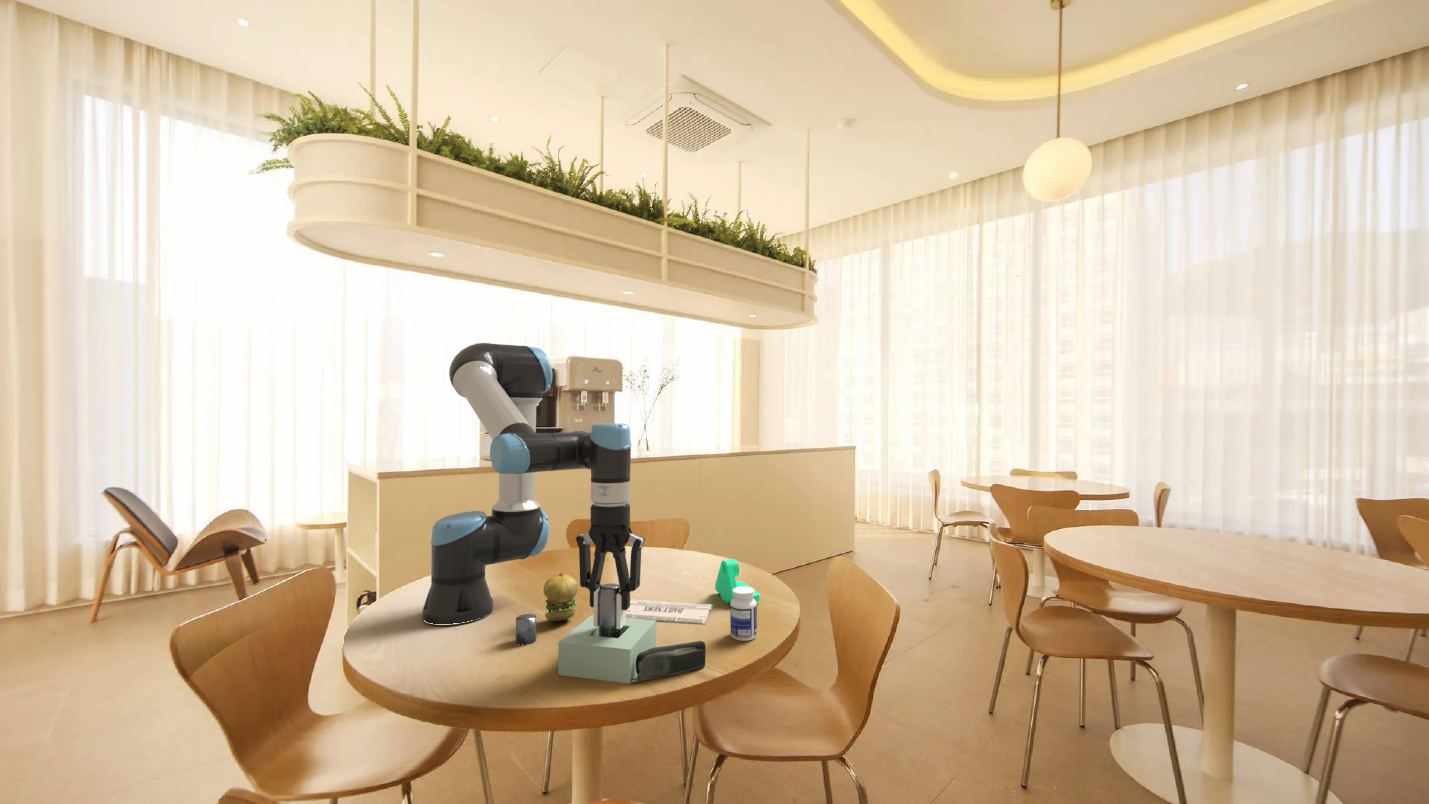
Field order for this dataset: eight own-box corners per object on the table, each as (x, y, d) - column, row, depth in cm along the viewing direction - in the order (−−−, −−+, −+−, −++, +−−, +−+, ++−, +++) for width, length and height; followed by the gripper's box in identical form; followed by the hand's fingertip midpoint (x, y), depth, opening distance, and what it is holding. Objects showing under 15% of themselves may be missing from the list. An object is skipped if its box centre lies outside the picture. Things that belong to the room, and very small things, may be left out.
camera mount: (761, 605, 138) (761, 564, 138) (733, 609, 135) (733, 567, 135) (741, 590, 149) (741, 552, 149) (715, 594, 146) (715, 555, 147)
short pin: (511, 644, 114) (512, 619, 114) (522, 636, 118) (522, 613, 118) (529, 646, 113) (529, 621, 113) (539, 638, 117) (539, 614, 117)
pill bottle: (742, 628, 123) (743, 583, 123) (762, 636, 119) (762, 589, 119) (724, 636, 119) (724, 589, 119) (744, 644, 115) (744, 595, 115)
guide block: (558, 675, 101) (558, 641, 101) (591, 643, 115) (592, 614, 115) (630, 683, 98) (630, 649, 98) (656, 650, 111) (656, 620, 112)
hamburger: (573, 614, 131) (574, 563, 131) (581, 624, 125) (581, 571, 125) (540, 620, 127) (540, 567, 128) (546, 631, 121) (546, 576, 121)
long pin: (595, 647, 105) (595, 589, 105) (604, 639, 109) (604, 582, 109) (614, 649, 104) (615, 590, 104) (623, 641, 108) (623, 584, 108)
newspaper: (713, 608, 137) (713, 598, 137) (705, 632, 125) (705, 621, 125) (626, 602, 141) (625, 592, 141) (609, 625, 129) (609, 615, 129)
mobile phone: (701, 637, 107) (627, 651, 100) (708, 643, 104) (633, 657, 97) (700, 663, 107) (626, 679, 99) (708, 669, 104) (632, 686, 97)
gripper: (560, 504, 105) (559, 628, 105) (645, 508, 101) (644, 637, 101) (578, 498, 112) (578, 614, 112) (658, 501, 108) (658, 621, 108)
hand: (609, 624), depth 106 cm, fingers closed on long pin, 4 cm apart
